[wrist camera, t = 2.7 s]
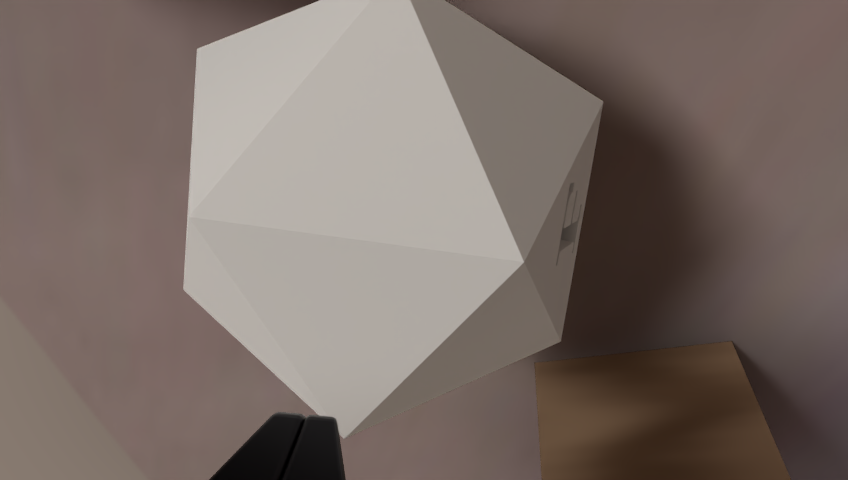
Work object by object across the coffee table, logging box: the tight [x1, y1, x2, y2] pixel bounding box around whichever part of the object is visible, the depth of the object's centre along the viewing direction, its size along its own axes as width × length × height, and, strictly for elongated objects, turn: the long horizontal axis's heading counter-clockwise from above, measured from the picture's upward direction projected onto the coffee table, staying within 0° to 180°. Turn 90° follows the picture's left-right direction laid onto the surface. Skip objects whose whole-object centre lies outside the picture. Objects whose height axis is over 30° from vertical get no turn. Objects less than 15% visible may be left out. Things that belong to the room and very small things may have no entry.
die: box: [183, 0, 604, 439], centre depth 15 cm, size 8×9×10 cm
